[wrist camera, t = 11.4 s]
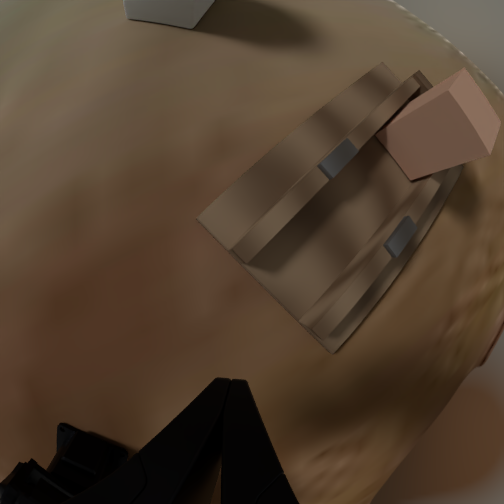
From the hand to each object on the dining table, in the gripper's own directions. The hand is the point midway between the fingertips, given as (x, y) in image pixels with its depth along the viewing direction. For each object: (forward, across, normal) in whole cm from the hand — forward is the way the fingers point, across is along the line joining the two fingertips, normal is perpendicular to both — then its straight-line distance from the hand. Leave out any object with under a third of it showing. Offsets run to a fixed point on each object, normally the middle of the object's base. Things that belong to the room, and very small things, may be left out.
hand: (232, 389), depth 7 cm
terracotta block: (+19, -13, -9) cm, 24 cm away
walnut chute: (+18, -9, -5) cm, 20 cm away
